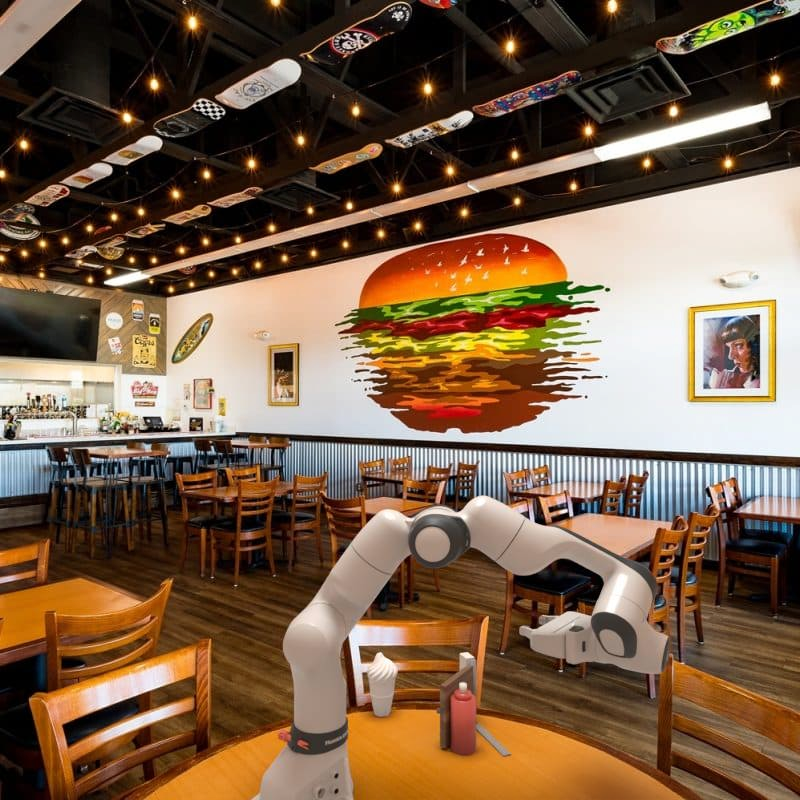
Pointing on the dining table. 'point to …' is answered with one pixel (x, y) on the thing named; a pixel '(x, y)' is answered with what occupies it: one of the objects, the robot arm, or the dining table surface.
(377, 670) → the soft serve ice cream cone
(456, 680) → the door
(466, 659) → the white-tipped grey slat
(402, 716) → the dining table surface
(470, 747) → the ketchup bottle
